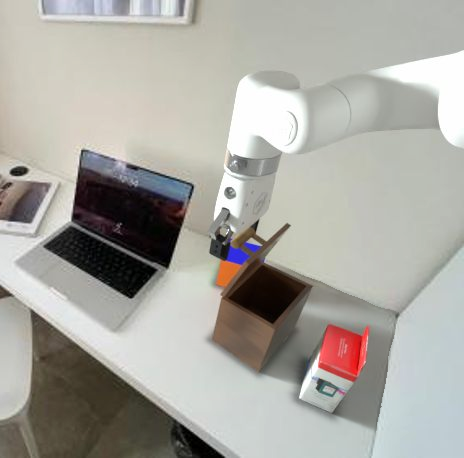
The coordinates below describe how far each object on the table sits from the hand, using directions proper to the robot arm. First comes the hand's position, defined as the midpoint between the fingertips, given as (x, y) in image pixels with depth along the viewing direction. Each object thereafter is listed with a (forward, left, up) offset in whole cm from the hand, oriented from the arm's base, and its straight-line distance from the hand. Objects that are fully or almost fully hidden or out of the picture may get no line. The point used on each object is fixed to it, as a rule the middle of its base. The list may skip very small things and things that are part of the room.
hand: (232, 244), depth 65 cm
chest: (-8, 0, -19) cm, 21 cm away
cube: (+2, -12, -20) cm, 23 cm away
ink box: (-21, +2, -20) cm, 29 cm away
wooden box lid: (-5, 0, -1) cm, 5 cm away
